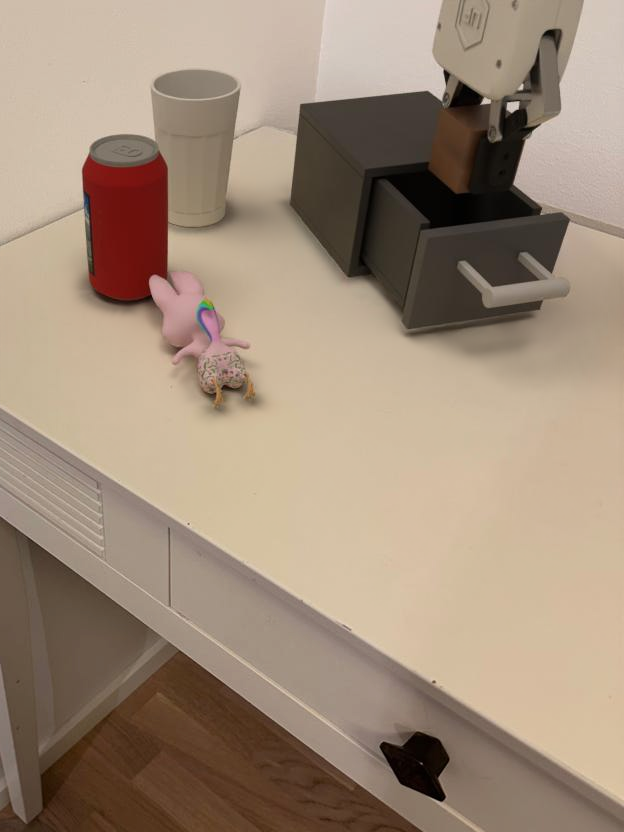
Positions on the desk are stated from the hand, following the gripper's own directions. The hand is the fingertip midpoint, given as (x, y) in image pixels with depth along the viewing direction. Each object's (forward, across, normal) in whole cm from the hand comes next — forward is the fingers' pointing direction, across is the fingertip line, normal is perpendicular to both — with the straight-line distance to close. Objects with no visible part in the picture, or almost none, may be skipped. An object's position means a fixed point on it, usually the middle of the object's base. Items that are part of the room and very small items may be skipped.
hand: (470, 173), depth 67 cm
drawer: (+10, +1, 0) cm, 10 cm away
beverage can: (+11, -8, -25) cm, 28 cm away
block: (0, 0, 0) cm, 0 cm away
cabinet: (+11, -12, 0) cm, 16 cm away
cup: (+11, -20, -16) cm, 28 cm away
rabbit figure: (+11, +3, -22) cm, 25 cm away
